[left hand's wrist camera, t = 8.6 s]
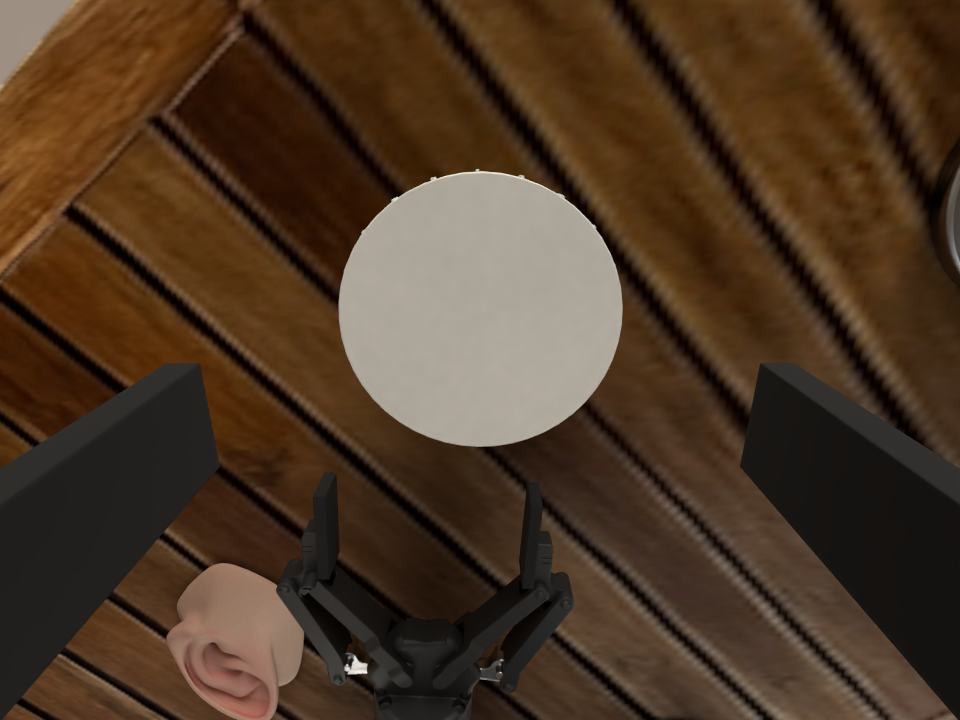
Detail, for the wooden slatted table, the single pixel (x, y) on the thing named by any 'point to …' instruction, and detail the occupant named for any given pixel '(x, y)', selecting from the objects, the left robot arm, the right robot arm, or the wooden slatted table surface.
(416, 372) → the lid
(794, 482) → the left robot arm
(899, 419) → the wooden slatted table surface
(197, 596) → the anatomical model
